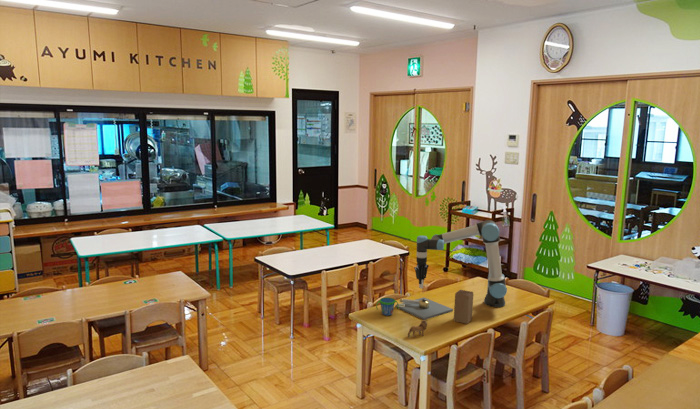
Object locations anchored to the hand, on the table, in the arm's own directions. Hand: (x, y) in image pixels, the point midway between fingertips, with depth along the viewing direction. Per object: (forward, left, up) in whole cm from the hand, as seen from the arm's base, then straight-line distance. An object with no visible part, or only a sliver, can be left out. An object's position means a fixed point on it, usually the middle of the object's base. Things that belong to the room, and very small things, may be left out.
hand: (421, 287), depth 363 cm
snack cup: (-1, +34, -12) cm, 36 cm away
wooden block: (-39, -1, -12) cm, 41 cm away
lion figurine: (-39, +41, -12) cm, 58 cm away
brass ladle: (-4, +10, -10) cm, 15 cm away
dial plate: (-9, +6, -12) cm, 16 cm away
